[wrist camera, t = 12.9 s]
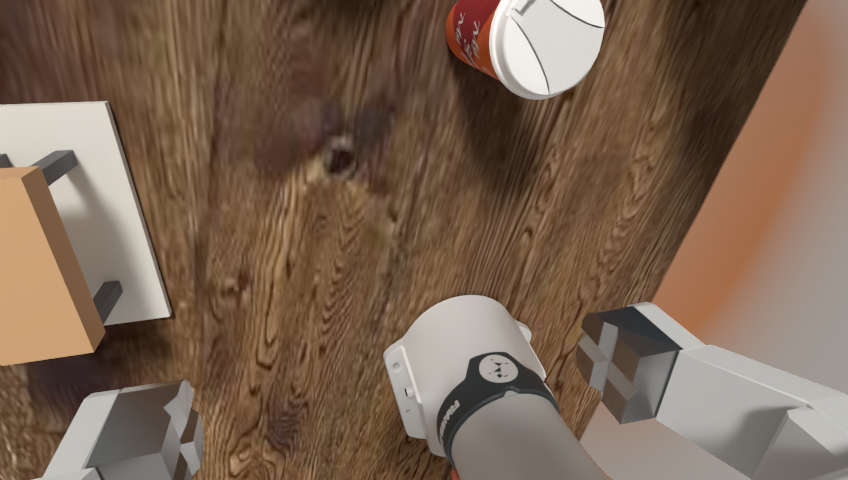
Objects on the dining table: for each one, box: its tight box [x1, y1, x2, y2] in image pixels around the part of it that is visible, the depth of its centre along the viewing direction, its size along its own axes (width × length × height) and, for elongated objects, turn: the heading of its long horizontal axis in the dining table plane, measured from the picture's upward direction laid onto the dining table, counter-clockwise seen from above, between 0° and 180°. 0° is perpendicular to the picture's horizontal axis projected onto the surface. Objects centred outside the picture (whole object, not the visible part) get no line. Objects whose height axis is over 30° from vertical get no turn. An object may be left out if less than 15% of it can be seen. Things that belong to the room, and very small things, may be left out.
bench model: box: [0, 150, 123, 366], centre depth 34 cm, size 14×6×8 cm, turn 179°
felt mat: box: [0, 101, 172, 326], centre depth 38 cm, size 20×12×1 cm, turn 179°
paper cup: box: [445, 0, 605, 100], centre depth 34 cm, size 8×8×14 cm
